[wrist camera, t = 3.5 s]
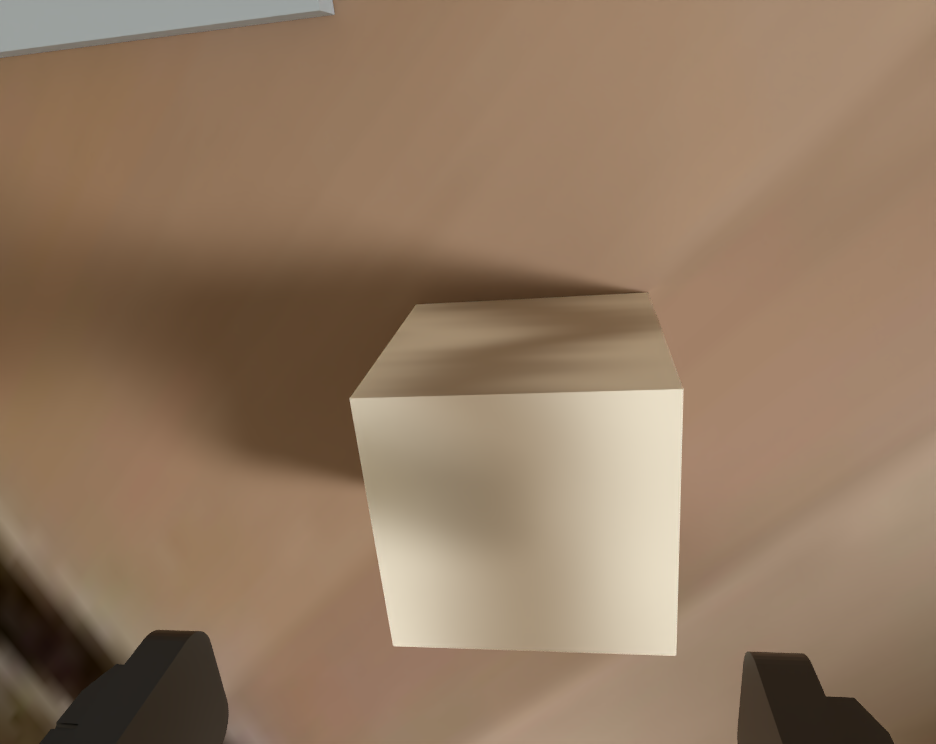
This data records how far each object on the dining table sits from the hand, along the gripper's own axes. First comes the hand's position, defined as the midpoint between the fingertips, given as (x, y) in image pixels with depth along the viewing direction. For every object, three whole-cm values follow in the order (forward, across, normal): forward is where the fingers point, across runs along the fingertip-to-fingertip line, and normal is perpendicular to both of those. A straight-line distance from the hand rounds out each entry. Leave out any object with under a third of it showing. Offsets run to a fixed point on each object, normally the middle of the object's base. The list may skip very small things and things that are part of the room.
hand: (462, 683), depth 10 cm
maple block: (+10, -1, 0) cm, 10 cm away
